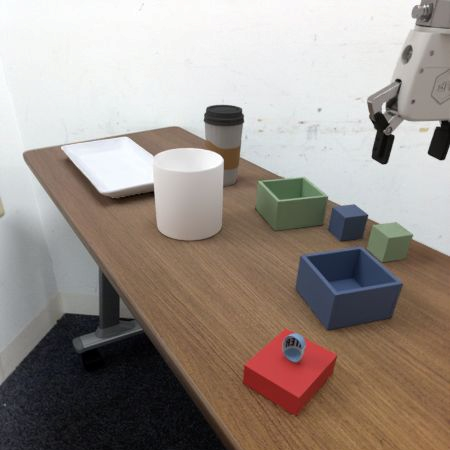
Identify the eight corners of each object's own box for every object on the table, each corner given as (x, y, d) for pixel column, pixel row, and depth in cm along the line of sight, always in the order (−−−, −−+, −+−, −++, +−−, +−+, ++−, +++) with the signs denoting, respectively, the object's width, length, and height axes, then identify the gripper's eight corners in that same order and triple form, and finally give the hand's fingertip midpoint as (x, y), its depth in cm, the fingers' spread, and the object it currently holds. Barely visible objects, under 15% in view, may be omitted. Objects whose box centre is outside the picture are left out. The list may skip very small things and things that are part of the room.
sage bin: (300, 203, 86) (304, 176, 82) (323, 224, 78) (328, 196, 75) (255, 208, 83) (257, 180, 80) (274, 231, 76) (277, 201, 73)
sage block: (389, 245, 73) (396, 221, 70) (405, 259, 69) (413, 234, 67) (366, 249, 72) (372, 224, 69) (381, 262, 68) (389, 237, 66)
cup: (228, 238, 73) (230, 169, 66) (160, 243, 71) (155, 173, 64) (215, 209, 82) (216, 146, 75) (154, 213, 80) (149, 149, 73)
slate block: (349, 226, 78) (354, 203, 75) (362, 238, 75) (368, 214, 72) (327, 229, 77) (332, 206, 74) (340, 241, 74) (345, 217, 71)
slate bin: (353, 278, 64) (361, 246, 61) (391, 317, 57) (403, 283, 54) (295, 288, 62) (300, 254, 58) (327, 330, 54) (335, 295, 51)
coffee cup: (248, 183, 93) (253, 111, 85) (217, 191, 90) (218, 116, 81) (227, 172, 99) (229, 102, 90) (196, 178, 95) (195, 106, 86)
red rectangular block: (282, 345, 52) (289, 304, 48) (332, 372, 48) (343, 330, 45) (242, 383, 47) (246, 340, 43) (295, 416, 43) (304, 372, 40)
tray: (102, 208, 81) (100, 191, 79) (61, 159, 103) (59, 144, 101) (182, 192, 88) (181, 176, 86) (128, 149, 110) (127, 135, 108)
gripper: (408, 18, 46) (370, 172, 57) (531, 22, 51) (474, 164, 61) (370, 13, 52) (342, 154, 62) (483, 17, 56) (439, 148, 67)
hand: (407, 159), depth 62 cm, fingers open, 9 cm apart
